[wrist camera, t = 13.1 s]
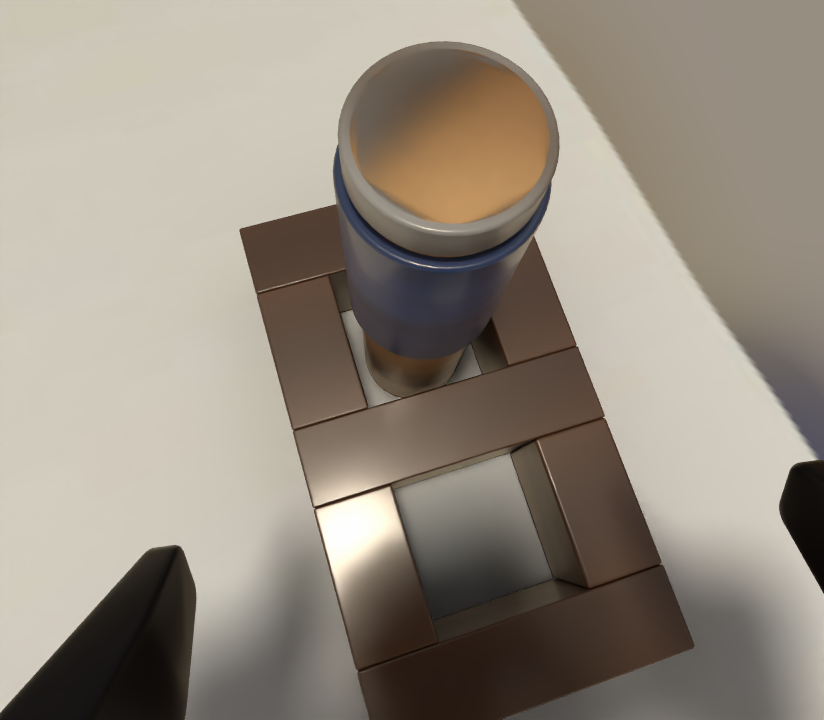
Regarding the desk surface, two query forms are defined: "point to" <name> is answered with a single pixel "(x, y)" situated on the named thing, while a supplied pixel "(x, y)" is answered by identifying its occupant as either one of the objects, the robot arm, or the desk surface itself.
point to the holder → (450, 450)
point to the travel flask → (437, 201)
